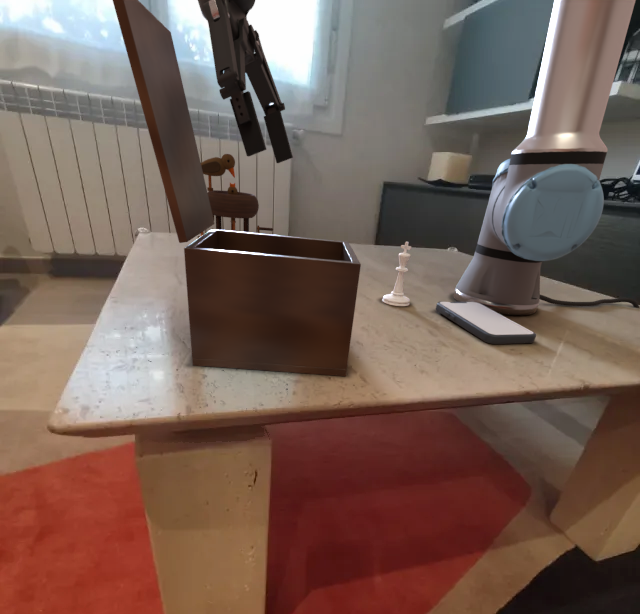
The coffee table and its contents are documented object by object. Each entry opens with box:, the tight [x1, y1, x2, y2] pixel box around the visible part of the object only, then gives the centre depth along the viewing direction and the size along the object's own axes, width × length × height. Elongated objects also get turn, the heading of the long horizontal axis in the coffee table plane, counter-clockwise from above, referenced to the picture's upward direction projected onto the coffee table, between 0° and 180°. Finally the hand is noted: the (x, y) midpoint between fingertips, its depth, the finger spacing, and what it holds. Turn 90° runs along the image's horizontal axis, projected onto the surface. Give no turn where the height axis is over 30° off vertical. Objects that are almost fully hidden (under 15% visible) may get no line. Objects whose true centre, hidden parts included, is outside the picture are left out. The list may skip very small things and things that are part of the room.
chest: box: [183, 228, 362, 377], centre depth 48 cm, size 17×14×12 cm
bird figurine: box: [196, 153, 274, 240], centre depth 77 cm, size 15×11×20 cm
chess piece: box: [381, 241, 412, 307], centre depth 72 cm, size 5×5×10 cm
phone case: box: [435, 301, 537, 345], centre depth 67 cm, size 9×2×16 cm
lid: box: [112, 0, 215, 244], centre depth 40 cm, size 17×14×1 cm
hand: (272, 157), depth 63 cm, fingers open, 13 cm apart
